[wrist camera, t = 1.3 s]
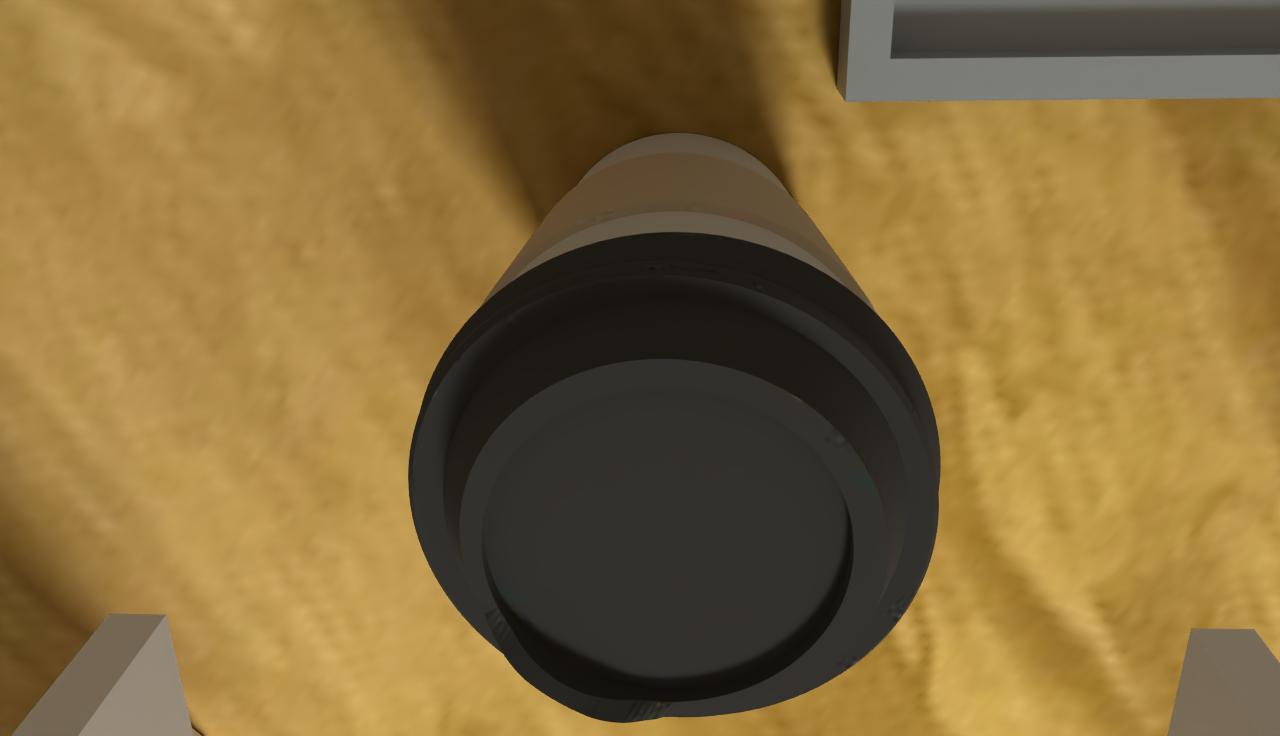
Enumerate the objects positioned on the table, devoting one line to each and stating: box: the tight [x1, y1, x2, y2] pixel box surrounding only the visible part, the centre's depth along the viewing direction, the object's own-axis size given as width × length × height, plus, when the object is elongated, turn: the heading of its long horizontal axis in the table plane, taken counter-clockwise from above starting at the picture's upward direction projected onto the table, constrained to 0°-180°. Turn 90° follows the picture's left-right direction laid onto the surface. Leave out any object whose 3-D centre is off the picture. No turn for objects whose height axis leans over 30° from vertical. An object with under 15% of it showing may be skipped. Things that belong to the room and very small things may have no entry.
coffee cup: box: [408, 133, 940, 723], centre depth 24 cm, size 9×9×15 cm
